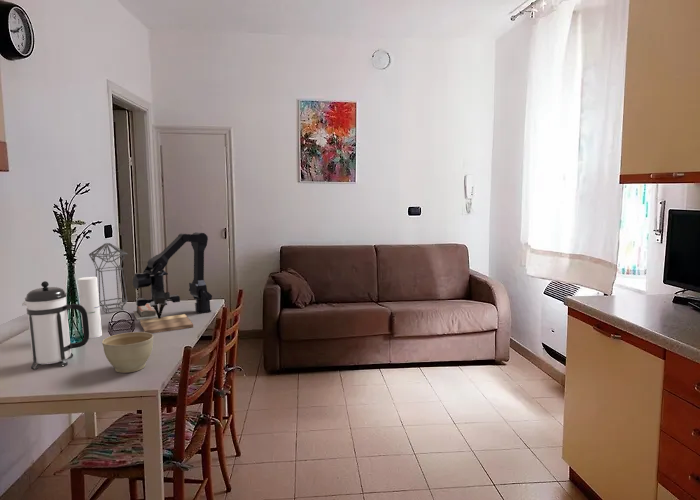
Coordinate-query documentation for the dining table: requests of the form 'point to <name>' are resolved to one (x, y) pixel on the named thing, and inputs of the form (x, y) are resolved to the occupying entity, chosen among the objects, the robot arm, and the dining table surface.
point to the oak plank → (163, 318)
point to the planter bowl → (128, 350)
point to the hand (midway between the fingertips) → (159, 318)
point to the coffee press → (51, 325)
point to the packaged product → (145, 312)
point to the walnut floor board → (167, 325)
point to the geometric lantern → (109, 270)
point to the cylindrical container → (91, 304)
